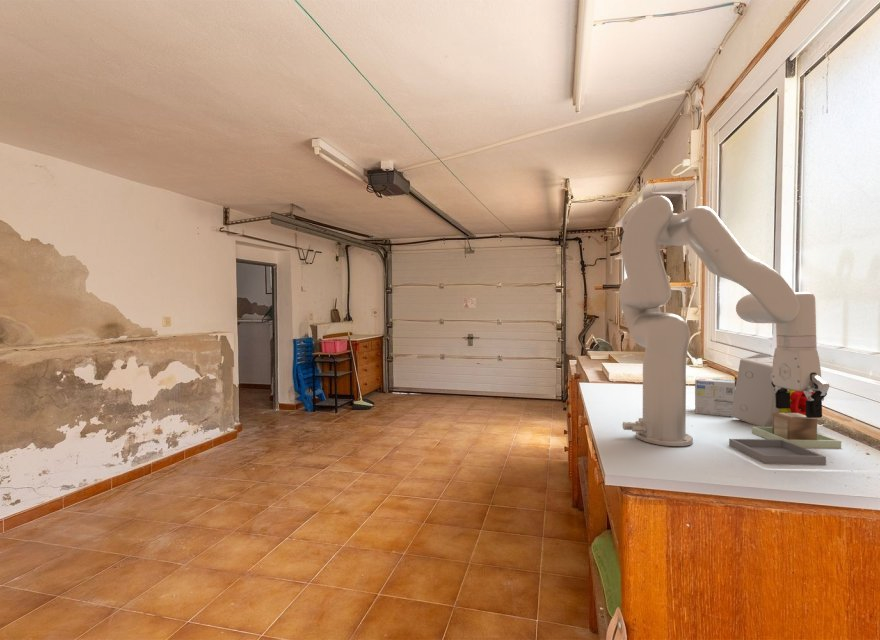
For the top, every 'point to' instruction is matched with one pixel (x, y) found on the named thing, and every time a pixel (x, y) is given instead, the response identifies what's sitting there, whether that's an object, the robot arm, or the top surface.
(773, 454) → the grey tray
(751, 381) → the electrical switch box
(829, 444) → the green tray
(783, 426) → the letter block
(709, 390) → the light bulb box
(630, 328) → the robot arm
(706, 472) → the top surface
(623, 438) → the top surface
